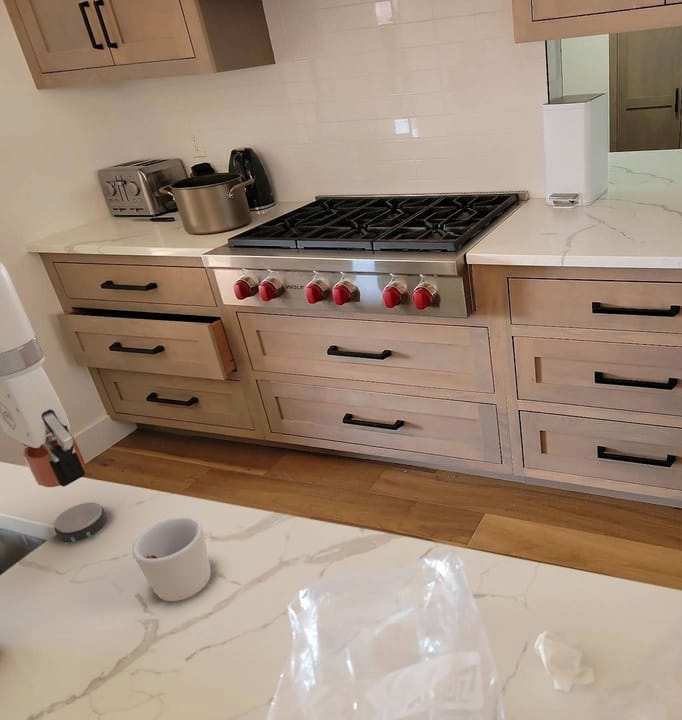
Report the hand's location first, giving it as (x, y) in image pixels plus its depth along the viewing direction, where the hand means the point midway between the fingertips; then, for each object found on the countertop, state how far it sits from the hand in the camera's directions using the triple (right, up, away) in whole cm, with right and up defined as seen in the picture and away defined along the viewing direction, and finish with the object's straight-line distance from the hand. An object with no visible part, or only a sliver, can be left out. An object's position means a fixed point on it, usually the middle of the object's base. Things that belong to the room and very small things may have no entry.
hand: (60, 472), depth 93 cm
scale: (+1, -9, +4) cm, 10 cm away
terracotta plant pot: (0, 0, 0) cm, 1 cm away
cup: (+20, -13, -6) cm, 25 cm away
